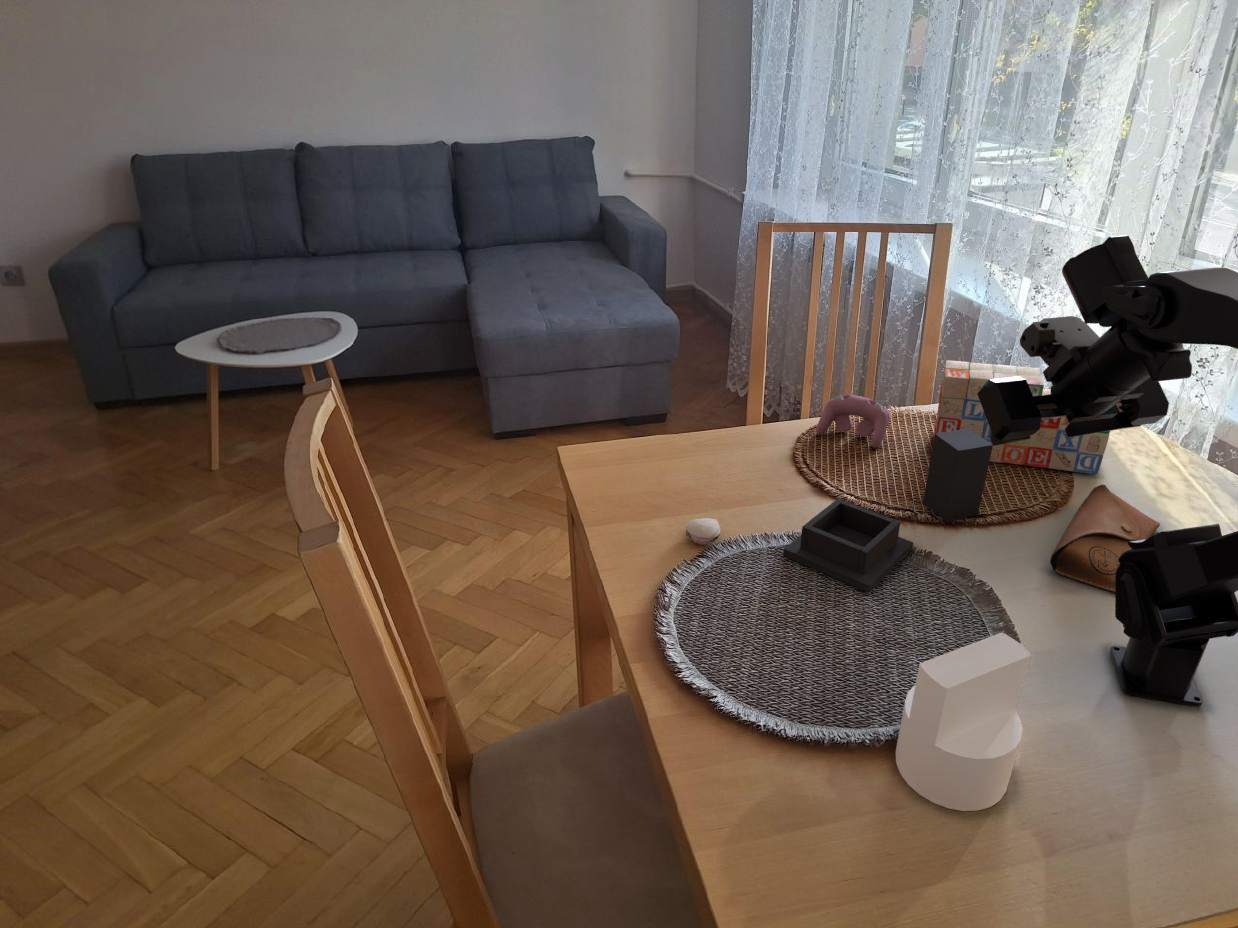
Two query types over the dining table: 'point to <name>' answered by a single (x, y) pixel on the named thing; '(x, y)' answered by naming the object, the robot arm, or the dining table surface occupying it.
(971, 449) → the black pad block
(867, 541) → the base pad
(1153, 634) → the robot arm
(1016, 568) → the dining table surface
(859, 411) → the video game controller
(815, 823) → the dining table surface
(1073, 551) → the sunglasses case
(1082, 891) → the dining table surface
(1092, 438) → the stack of blocks
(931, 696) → the cylinder with rectangular tab
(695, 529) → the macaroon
